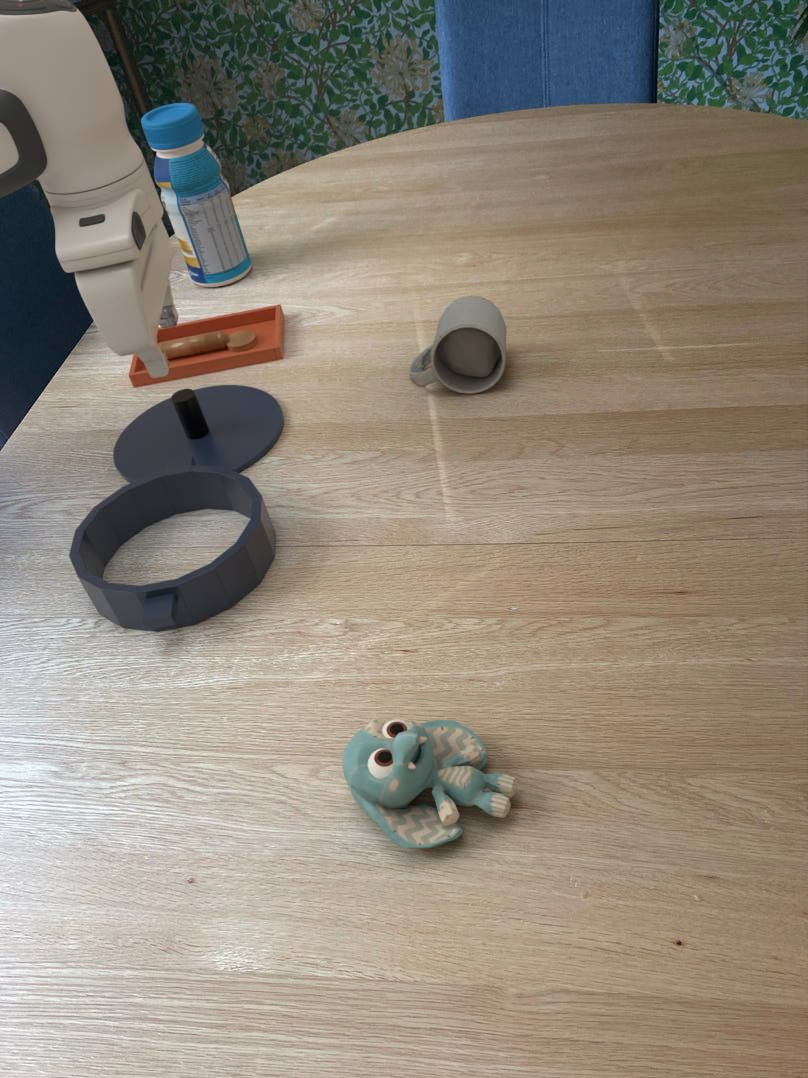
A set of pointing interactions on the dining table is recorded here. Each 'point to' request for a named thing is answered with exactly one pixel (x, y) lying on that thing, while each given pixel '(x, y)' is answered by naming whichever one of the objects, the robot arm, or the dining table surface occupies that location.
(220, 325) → the tray
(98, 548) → the pot
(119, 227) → the robot arm
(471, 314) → the ceramic mug
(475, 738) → the stuffed animal
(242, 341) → the spoon
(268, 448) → the lid
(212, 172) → the beverage bottle
